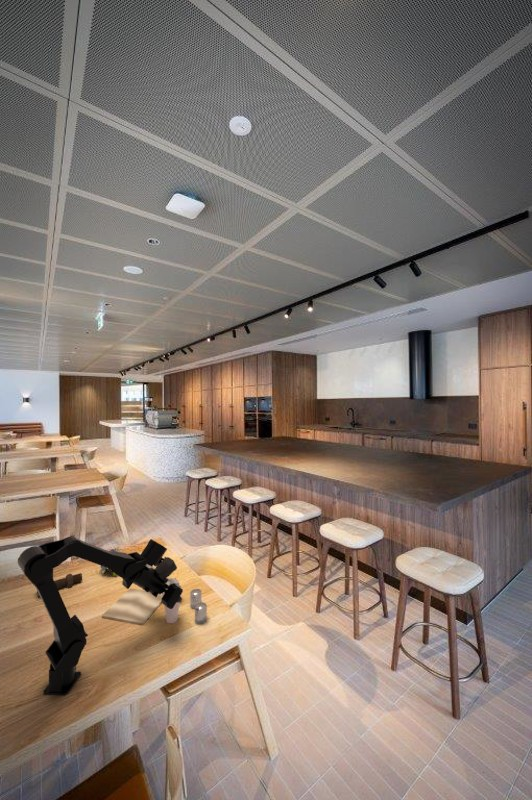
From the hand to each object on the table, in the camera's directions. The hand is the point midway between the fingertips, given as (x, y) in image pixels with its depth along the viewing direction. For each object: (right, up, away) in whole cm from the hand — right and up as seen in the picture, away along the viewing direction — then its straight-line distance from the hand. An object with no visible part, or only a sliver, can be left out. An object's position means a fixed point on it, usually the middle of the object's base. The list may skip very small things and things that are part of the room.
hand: (175, 596), depth 113 cm
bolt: (-51, -7, +16) cm, 54 cm away
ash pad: (-16, -7, +6) cm, 19 cm away
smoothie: (-1, -8, -1) cm, 8 cm away
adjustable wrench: (-13, -8, +25) cm, 29 cm away
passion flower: (-36, -7, +30) cm, 47 cm away
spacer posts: (+4, -8, +5) cm, 10 cm away
